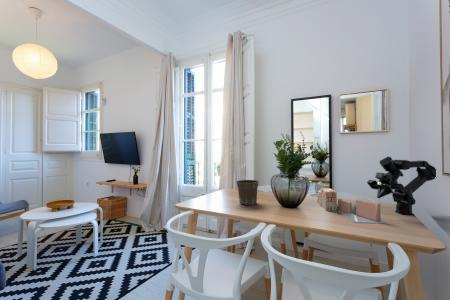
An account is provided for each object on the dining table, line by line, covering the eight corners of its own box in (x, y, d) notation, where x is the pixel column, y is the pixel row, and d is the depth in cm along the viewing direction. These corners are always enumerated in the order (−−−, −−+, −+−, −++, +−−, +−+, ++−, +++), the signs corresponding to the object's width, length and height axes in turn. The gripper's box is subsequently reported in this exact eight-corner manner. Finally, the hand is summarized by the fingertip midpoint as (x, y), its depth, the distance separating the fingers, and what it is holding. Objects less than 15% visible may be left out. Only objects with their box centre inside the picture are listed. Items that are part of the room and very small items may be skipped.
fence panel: (350, 213, 127) (350, 197, 127) (354, 212, 128) (354, 197, 128) (378, 221, 111) (377, 204, 111) (382, 221, 112) (381, 203, 112)
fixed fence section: (352, 213, 129) (352, 201, 129) (349, 213, 128) (349, 201, 128) (339, 209, 137) (339, 198, 137) (337, 209, 137) (337, 198, 137)
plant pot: (231, 203, 157) (231, 181, 157) (246, 199, 168) (246, 179, 168) (249, 207, 145) (248, 183, 145) (263, 203, 156) (263, 181, 156)
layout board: (361, 210, 135) (361, 209, 135) (386, 223, 111) (386, 222, 111) (336, 209, 137) (336, 209, 137) (354, 222, 112) (354, 222, 112)
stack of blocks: (317, 203, 156) (316, 185, 156) (326, 203, 155) (326, 186, 155) (326, 211, 134) (325, 191, 134) (337, 211, 133) (336, 191, 133)
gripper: (368, 166, 132) (355, 185, 128) (402, 168, 114) (387, 191, 110) (378, 178, 134) (365, 197, 130) (412, 182, 116) (398, 205, 113)
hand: (378, 197), depth 121 cm, fingers closed
